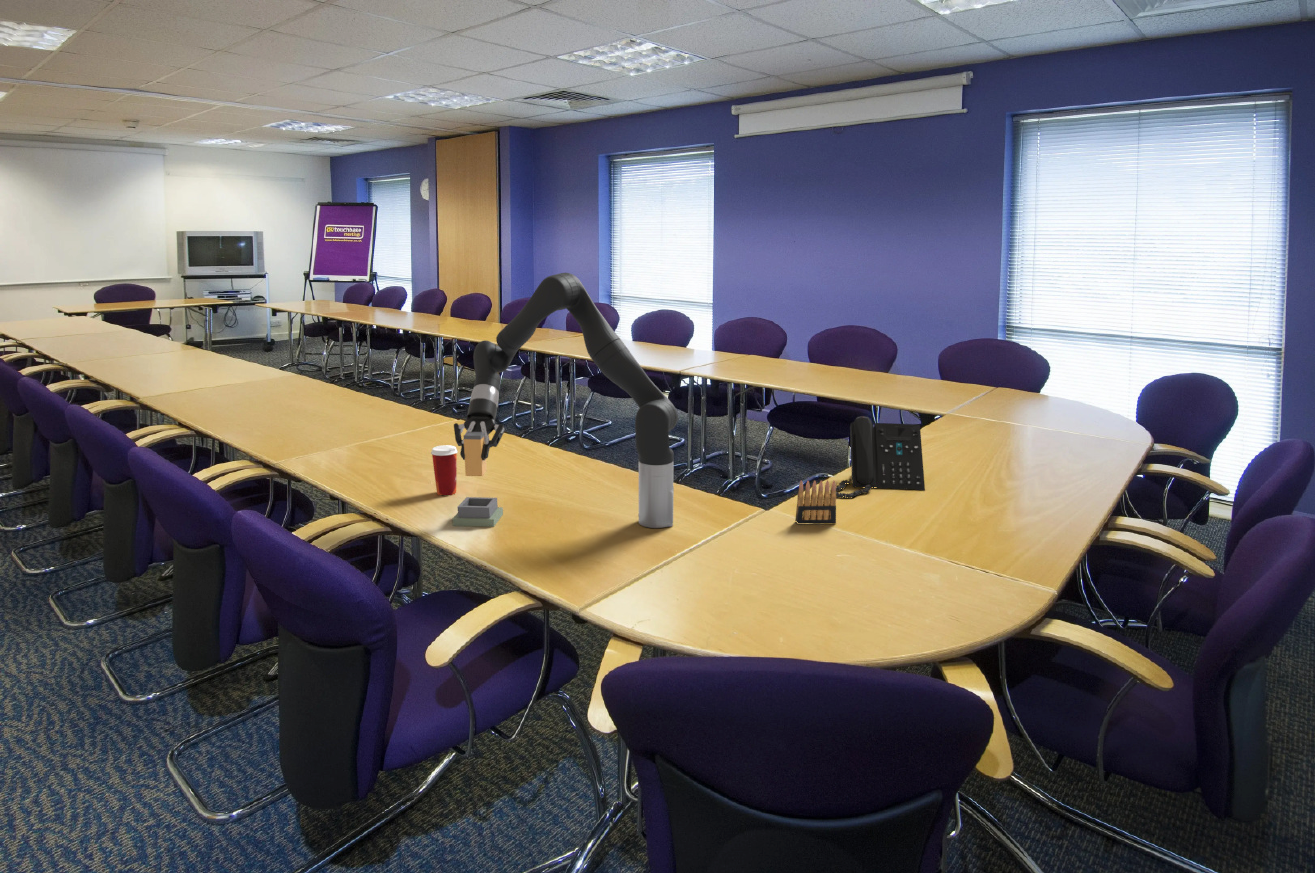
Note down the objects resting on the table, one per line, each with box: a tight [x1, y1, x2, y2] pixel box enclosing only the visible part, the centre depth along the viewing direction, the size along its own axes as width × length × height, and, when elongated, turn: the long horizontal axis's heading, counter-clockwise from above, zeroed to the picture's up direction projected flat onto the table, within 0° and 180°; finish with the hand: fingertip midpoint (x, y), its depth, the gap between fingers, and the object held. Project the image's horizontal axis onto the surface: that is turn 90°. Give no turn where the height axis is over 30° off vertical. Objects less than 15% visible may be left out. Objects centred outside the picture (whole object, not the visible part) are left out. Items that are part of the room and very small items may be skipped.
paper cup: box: [430, 444, 458, 496], centre depth 239 cm, size 8×8×14 cm
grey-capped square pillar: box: [463, 431, 488, 477], centre depth 213 cm, size 4×4×11 cm
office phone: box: [829, 415, 926, 499], centre depth 248 cm, size 29×28×20 cm
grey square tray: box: [452, 496, 504, 528], centre depth 217 cm, size 11×10×5 cm
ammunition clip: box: [794, 479, 837, 523], centre depth 216 cm, size 11×2×12 cm, turn 93°
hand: (473, 458), depth 212 cm, fingers closed on grey-capped square pillar, 4 cm apart
